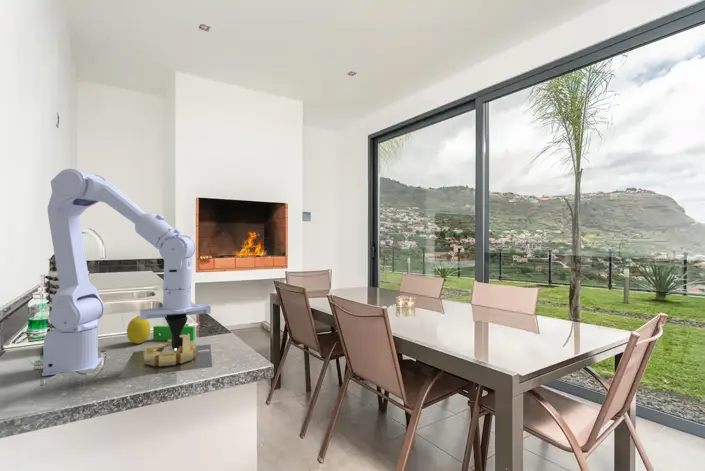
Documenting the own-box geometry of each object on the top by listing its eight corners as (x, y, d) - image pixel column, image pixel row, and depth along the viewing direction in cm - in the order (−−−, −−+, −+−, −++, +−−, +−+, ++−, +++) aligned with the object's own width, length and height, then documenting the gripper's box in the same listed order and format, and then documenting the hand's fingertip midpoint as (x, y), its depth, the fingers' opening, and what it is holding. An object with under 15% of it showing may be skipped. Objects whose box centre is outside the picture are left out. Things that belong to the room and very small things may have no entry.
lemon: (154, 344, 102) (154, 315, 101) (133, 349, 97) (133, 319, 97) (143, 341, 105) (144, 312, 105) (122, 345, 100) (122, 316, 100)
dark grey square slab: (119, 380, 77) (119, 364, 77) (133, 354, 93) (133, 340, 93) (212, 369, 83) (212, 354, 83) (210, 346, 100) (210, 333, 100)
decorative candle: (87, 349, 97) (87, 253, 96) (41, 355, 92) (41, 254, 92) (90, 340, 104) (90, 251, 104) (47, 345, 100) (48, 252, 99)
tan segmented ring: (133, 361, 86) (133, 336, 86) (175, 347, 96) (175, 325, 96) (165, 369, 81) (166, 342, 81) (205, 354, 91) (206, 331, 91)
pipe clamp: (198, 339, 107) (198, 323, 107) (192, 343, 103) (193, 327, 103) (160, 338, 107) (160, 323, 107) (153, 342, 104) (153, 326, 104)
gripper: (143, 292, 78) (141, 357, 78) (214, 288, 86) (213, 347, 86) (139, 288, 83) (138, 349, 83) (206, 284, 92) (205, 339, 92)
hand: (175, 347), depth 85 cm, fingers closed, pressing on tan segmented ring
